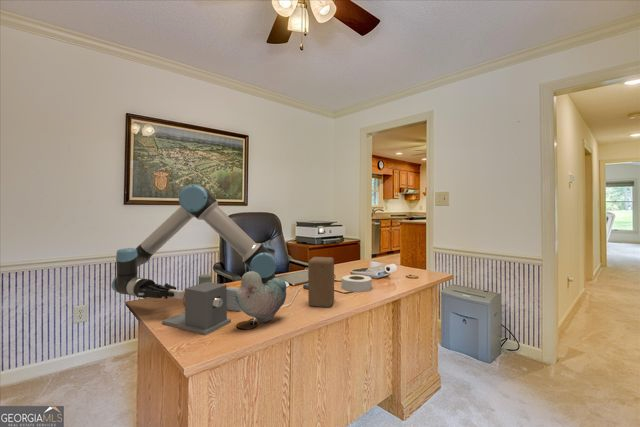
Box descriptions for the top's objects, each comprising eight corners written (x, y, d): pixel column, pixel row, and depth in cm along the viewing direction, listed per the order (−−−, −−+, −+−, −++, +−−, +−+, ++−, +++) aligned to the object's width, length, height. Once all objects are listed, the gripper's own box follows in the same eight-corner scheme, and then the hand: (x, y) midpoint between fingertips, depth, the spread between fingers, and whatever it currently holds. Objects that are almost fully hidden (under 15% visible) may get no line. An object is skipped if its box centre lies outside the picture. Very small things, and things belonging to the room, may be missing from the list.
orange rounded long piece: (183, 311, 107) (182, 289, 107) (200, 304, 114) (200, 284, 114) (211, 317, 101) (210, 294, 101) (227, 310, 108) (227, 288, 108)
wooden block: (330, 308, 125) (330, 261, 125) (307, 306, 127) (307, 260, 127) (334, 300, 135) (334, 257, 134) (313, 299, 137) (312, 256, 136)
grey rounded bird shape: (279, 312, 120) (279, 263, 120) (292, 319, 113) (292, 267, 113) (230, 326, 107) (230, 271, 106) (241, 334, 100) (241, 275, 99)
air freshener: (217, 292, 148) (217, 272, 148) (217, 297, 141) (216, 276, 140) (193, 294, 145) (193, 274, 145) (192, 299, 137) (191, 278, 137)
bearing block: (162, 323, 109) (161, 285, 109) (189, 313, 120) (188, 278, 120) (205, 335, 100) (205, 293, 99) (230, 322, 110) (230, 284, 110)
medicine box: (246, 308, 125) (245, 288, 125) (239, 312, 121) (239, 291, 121) (230, 306, 128) (230, 286, 128) (223, 309, 124) (223, 289, 124)
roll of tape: (342, 283, 165) (342, 273, 165) (370, 284, 163) (370, 274, 163) (340, 291, 149) (340, 281, 149) (372, 293, 147) (372, 281, 147)
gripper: (156, 292, 129) (195, 299, 119) (126, 301, 117) (166, 310, 107) (156, 275, 129) (195, 281, 119) (125, 282, 117) (166, 289, 107)
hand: (181, 295), depth 113 cm, fingers closed
